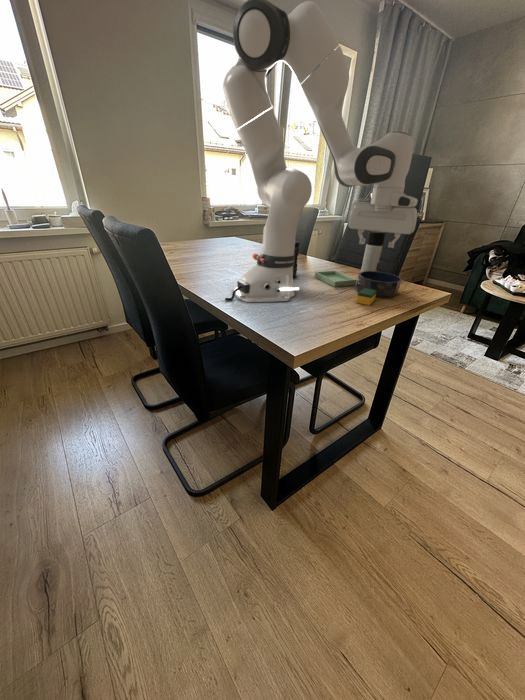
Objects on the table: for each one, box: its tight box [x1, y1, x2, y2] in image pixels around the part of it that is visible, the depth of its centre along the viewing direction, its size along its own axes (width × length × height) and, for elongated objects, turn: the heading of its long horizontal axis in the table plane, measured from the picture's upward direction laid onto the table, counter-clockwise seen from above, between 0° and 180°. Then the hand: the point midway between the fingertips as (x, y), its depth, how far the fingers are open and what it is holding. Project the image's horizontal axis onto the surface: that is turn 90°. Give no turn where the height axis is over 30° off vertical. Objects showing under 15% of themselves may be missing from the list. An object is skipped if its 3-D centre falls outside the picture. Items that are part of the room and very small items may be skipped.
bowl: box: [355, 270, 403, 299], centre depth 110 cm, size 16×16×6 cm
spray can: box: [360, 230, 387, 272], centre depth 121 cm, size 7×7×20 cm
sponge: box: [355, 288, 377, 306], centre depth 100 cm, size 7×5×4 cm, turn 146°
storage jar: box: [293, 239, 300, 280], centre depth 122 cm, size 10×10×15 cm
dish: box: [314, 270, 357, 288], centre depth 122 cm, size 11×15×2 cm
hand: (375, 245), depth 93 cm, fingers open, 8 cm apart
